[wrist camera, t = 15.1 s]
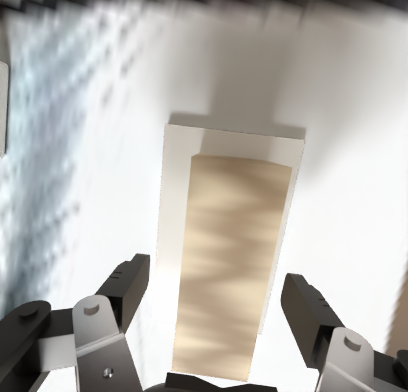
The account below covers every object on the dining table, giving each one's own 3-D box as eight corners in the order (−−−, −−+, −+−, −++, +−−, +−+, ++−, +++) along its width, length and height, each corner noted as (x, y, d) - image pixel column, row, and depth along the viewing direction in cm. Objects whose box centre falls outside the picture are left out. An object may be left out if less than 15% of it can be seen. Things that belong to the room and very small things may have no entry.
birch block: (171, 370, 14) (191, 156, 10) (183, 311, 18) (199, 153, 15) (247, 381, 13) (292, 167, 10) (238, 319, 18) (267, 160, 15)
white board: (154, 311, 20) (152, 318, 19) (167, 124, 16) (164, 123, 15) (259, 327, 19) (261, 334, 19) (300, 140, 15) (305, 139, 14)
